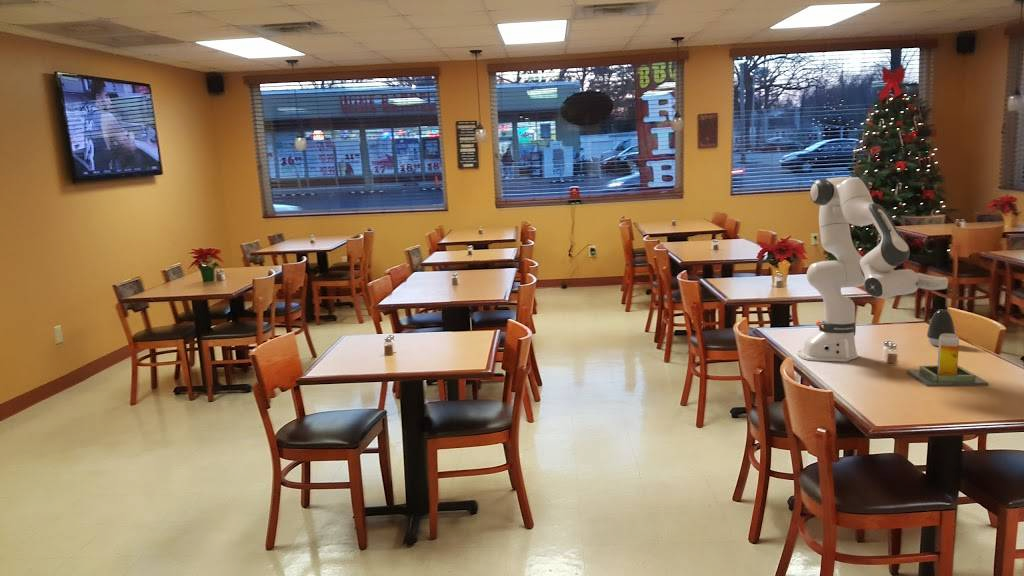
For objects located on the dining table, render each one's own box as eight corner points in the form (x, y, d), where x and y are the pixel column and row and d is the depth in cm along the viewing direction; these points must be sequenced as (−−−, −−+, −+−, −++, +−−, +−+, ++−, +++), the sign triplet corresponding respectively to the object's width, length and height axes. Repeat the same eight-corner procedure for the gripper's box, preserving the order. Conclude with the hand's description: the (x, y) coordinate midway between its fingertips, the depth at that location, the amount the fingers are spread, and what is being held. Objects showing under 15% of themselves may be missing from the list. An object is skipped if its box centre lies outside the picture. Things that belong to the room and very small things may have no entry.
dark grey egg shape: (951, 342, 308) (953, 307, 306) (957, 348, 299) (959, 312, 296) (924, 341, 312) (926, 306, 309) (929, 347, 302) (931, 311, 300)
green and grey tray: (926, 385, 254) (926, 377, 254) (907, 372, 270) (907, 364, 270) (988, 385, 252) (988, 376, 251) (965, 372, 267) (966, 364, 267)
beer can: (959, 378, 257) (961, 337, 255) (940, 378, 258) (942, 337, 256) (953, 373, 263) (955, 333, 260) (934, 373, 264) (936, 333, 262)
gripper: (932, 277, 253) (960, 273, 258) (882, 268, 271) (909, 264, 276) (930, 295, 254) (958, 290, 259) (881, 285, 273) (908, 281, 277)
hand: (933, 277), depth 268 cm, fingers open, 8 cm apart
